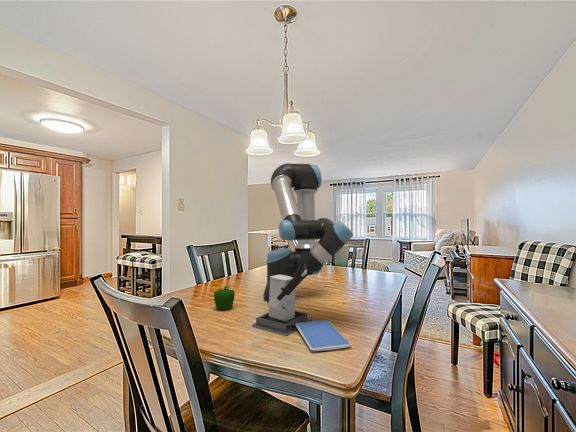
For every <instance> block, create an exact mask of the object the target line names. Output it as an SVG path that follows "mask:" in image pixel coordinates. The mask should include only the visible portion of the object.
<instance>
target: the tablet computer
mask: <svg viewBox="0 0 576 432" xmlns="http://www.w3.org/2000/svg"><path fill="white" fill-rule="evenodd" d="M295 326H296V327H297V329H298V332H299V333H300V335H301V337H302V338H303V339H304V341H305V343H306V344H307V347H308V348H309V350H310V351H311V352H324V351H332V350H342V349H345V348H346V349H347V348H351V346H352V344H351V343H350V341H348V339H346V338H345V336H344V335H343V334H342V333H341V332H340V331H339V330H338V329H337V328H336V327H335V325H333V323H332V322H331V321H330V320H327V319H326V320H315V321H312V320H311V322H301V323H296V324H295Z"/></svg>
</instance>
